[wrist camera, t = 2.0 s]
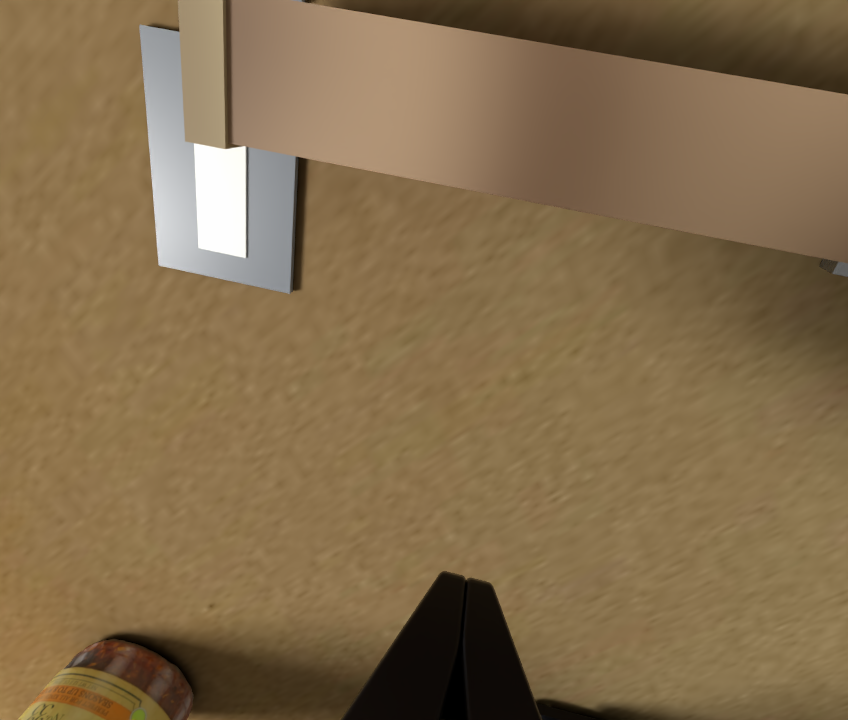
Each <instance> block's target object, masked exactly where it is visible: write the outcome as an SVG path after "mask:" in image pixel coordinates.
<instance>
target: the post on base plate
mask: <svg viewBox="0 0 848 720" xmlns="http://www.w3.org/2000/svg"><path fill="white" fill-rule="evenodd" d="M820 267H821V268H823V269H825V270H827V271H828V272H830V273H832V274H837V275H842V276H847V277H848V263H843V262H838V261H833V260H828V259H823V260H822V262H821V264H820Z"/></svg>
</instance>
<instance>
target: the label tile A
mask: <svg viewBox="0 0 848 720" xmlns="http://www.w3.org/2000/svg"><path fill="white" fill-rule="evenodd" d="M140 37H141V50H142V62H143V75H144V87H145V100H146V112H147V125H148V137H149V149H150V162H151V174H152V187H153V199H154V212H155V224H156V237H157V249H158V262H159V266H164V267H168V268H173V269H178V270H182V271H187V272H192V273H196V274H201V275H205V276H210V277H215V278H219V279H224V280H229V281H233V282H238V283H243V284H247V285H252V286H256V287H261V288H266V289H270V290H275V291H280V292H284V293H289V294H290V293H291V292H293V271H294V248H295V225H296V202H297V179H298V157H297V156H291V155H286V154H281V153H276V152H271V151H266V150H260V149H255V148H250V147H245V146H242V147H236V148H230V149H221V148H216V147H211V146H206V145H201V144H195V143H190V142H185V132H184V112H183V92H182V72H181V52H180V33H179V32H178V31H172V30H166V29H161V28H155V27H149V26H144V25H140Z"/></svg>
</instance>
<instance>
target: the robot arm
mask: <svg viewBox="0 0 848 720" xmlns="http://www.w3.org/2000/svg"><path fill="white" fill-rule="evenodd" d="M341 720H597V719H594V718H590V717H586V716H583V715H579V714H575V713H571V712H568V711H564V710H560V709H557V708H553V707H549V706H545V705H541V704H536V702H535V700H534V697H533V694H532V691H531V689H530V686H529V683H528V680H527V678H526V675H525V672H524V669H523V667H522V664H521V661H520V658H519V656H518V653H517V650H516V647H515V645H514V642H513V639H512V637H511V634H510V631H509V628H508V626H507V623H506V620H505V617H504V615H503V612H502V609H501V606H500V604H499V601H498V598H497V595H496V593H495V590H494V588H493V586H492V584H491V583H489V582H486V581H482V580H478V579H474V578H468V579H467V580H466V579H465V577H464V576H462V575H459V574H455V573H451V572H447V571H443V572H441V573H440V574H439V575H438V577H437V578H436V580H435V581H434V583H433V584H432V586H431V587H430V589H429V590H428V592H427V593H426V595H425V596H424V598H423V599H422V600H421V602H420V603H419V605H418V606H417V608H416V609H415V611H414V612H413V614H412V615H411V617H410V618H409V620H408V621H407V623H406V624H405V626H404V627H403V629H402V630H401V632H400V633H399V634H398V636H397V637H396V639H395V640H394V642H393V643H392V645H391V646H390V648H389V649H388V651H387V652H386V654H385V655H384V657H383V658H382V660H381V661H380V663H379V664H378V666H377V667H376V668H375V670H374V671H373V673H372V674H371V676H370V677H369V679H368V680H367V682H366V683H365V685H364V686H363V688H362V689H361V691H360V692H359V694H358V695H357V697H356V698H355V700H354V701H353V702H352V704H351V705H350V707H349V708H348V710H347V711H346V713H345V714H344V716H343V717H342V719H341Z"/></svg>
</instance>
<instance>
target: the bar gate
mask: <svg viewBox="0 0 848 720" xmlns="http://www.w3.org/2000/svg"><path fill="white" fill-rule="evenodd" d="M178 13H179V33H180V52H181V72H182V92H183V112H184V132H185V142H190V143H195V144H201V145H206V146H211V147H216V148H221V149H230V148H236V147H242V146H245V147H250V148H255V149H260V150H266V151H271V152H276V153H281V154H286V155H291V156H297V157H302V158H307V159H312V160H317V161H322V162H327V163H333V164H338V165H343V166H348V167H353V168H358V169H364V170H369V171H374V172H379V173H384V174H389V175H395V176H400V177H405V178H410V179H415V180H420V181H425V182H431V183H436V184H441V185H446V186H451V187H456V188H462V189H467V190H472V191H477V192H482V193H487V194H493V195H498V196H503V197H508V198H513V199H518V200H524V201H529V202H534V203H539V204H544V205H549V206H554V207H560V208H565V209H570V210H575V211H580V212H585V213H591V214H596V215H601V216H606V217H611V218H616V219H622V220H627V221H632V222H637V223H642V224H647V225H652V226H658V227H663V228H668V229H673V230H678V231H683V232H689V233H694V234H699V235H704V236H709V237H714V238H720V239H725V240H730V241H735V242H740V243H745V244H751V245H756V246H761V247H766V248H771V249H776V250H781V251H787V252H792V253H797V254H802V255H807V256H812V257H818V258H823V259H828V260H833V261H838V262H843V263H848V95H847V94H841V93H836V92H830V91H824V90H818V89H812V88H806V87H800V86H794V85H788V84H782V83H777V82H771V81H765V80H759V79H753V78H747V77H741V76H735V75H729V74H723V73H718V72H712V71H706V70H700V69H694V68H688V67H682V66H676V65H670V64H664V63H659V62H653V61H647V60H641V59H635V58H629V57H623V56H617V55H611V54H605V53H600V52H594V51H588V50H582V49H576V48H570V47H564V46H558V45H552V44H546V43H541V42H535V41H529V40H523V39H517V38H511V37H505V36H499V35H493V34H487V33H481V32H476V31H470V30H464V29H458V28H452V27H446V26H440V25H434V24H428V23H422V22H417V21H411V20H405V19H399V18H393V17H387V16H381V15H375V14H369V13H363V12H358V11H352V10H346V9H340V8H334V7H328V6H322V5H316V4H310V3H304V2H299V1H293V0H178Z"/></svg>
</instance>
